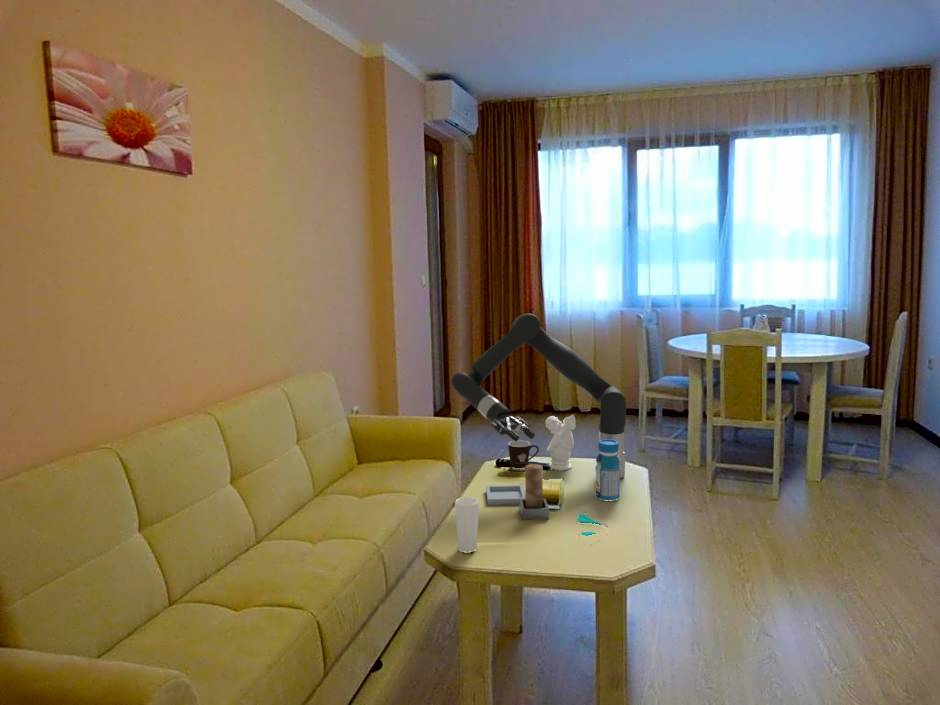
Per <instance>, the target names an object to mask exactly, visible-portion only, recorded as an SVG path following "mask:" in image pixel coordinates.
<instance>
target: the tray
mask: <svg viewBox="0 0 940 705" xmlns="http://www.w3.org/2000/svg"><path fill="white" fill-rule="evenodd" d="M485 493H486V500H487V506H510V505H515V506H516V505H519V499H525V487H524V485H523V484H506V485H505V484H503V485H501V484H499V485H498V484H496V485H495V484H494V485H485Z"/></svg>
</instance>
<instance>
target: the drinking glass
mask: <svg viewBox="0 0 940 705" xmlns="http://www.w3.org/2000/svg"><path fill="white" fill-rule="evenodd" d="M454 502H455V503H454V504H455V505H454V515H455V516H454V517H455V525H456V526H455V527H456V534H457V543H458V544H457V546H458V547H457V548H459V549H460V550H461V551H466V552H469V551H473V550H475V549H476V548H477V549H478V530H479V528H478V527H479V516H480V513H479V512H480V509H479V508H480V507H479V500H478V498H476V497H472V496H463V497H459V498H457V499H456V500H455V501H454ZM459 549H458V550H459ZM477 549H476V550H477Z"/></svg>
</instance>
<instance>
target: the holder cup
mask: <svg viewBox="0 0 940 705" xmlns="http://www.w3.org/2000/svg"><path fill="white" fill-rule="evenodd" d="M518 507H519V513H520V516H521V517H520V518H521V520H522V521H526V520H527V521H531V520H534V521H536V520H537V521H539V520H540V521H541V520H542V521H543V520H549V519H550V508H549V505H548V502H547V499H546V498H543V508H525V499H519V506H518Z"/></svg>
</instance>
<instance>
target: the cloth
mask: <svg viewBox="0 0 940 705" xmlns="http://www.w3.org/2000/svg"><path fill="white" fill-rule="evenodd" d="M584 513H588V512H587V511H586V510H584ZM578 515H579V518H578V517H577V520H578V522H580V523H592V524H594V523H595V524H599V525H602V524H603V523H602V524H601V523H600V521H596V520H595V519H593V518H592V517H589V516H586V514H585V515H584V514H582V513H579V514H578ZM581 532H582V533H581V534H582V535H585V536H588V535H592V534H596V533H594V532H595V531H581Z"/></svg>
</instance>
